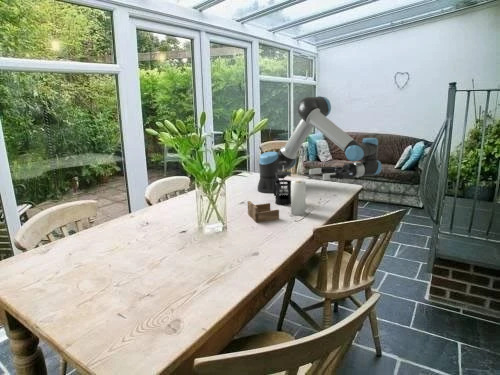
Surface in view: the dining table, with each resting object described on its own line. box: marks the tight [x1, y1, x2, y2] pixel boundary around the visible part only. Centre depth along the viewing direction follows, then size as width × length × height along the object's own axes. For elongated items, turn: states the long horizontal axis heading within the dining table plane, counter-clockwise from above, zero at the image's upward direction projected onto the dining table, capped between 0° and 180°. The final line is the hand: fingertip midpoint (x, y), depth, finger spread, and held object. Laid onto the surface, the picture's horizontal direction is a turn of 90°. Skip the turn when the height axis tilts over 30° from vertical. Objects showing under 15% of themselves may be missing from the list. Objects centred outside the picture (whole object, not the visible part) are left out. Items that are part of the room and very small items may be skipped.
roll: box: [290, 180, 306, 216], centre depth 167 cm, size 7×7×16 cm
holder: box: [247, 200, 280, 223], centre depth 165 cm, size 12×12×7 cm
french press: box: [273, 162, 293, 206], centre depth 184 cm, size 12×9×23 cm
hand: (316, 174), depth 167 cm, fingers open, 13 cm apart
